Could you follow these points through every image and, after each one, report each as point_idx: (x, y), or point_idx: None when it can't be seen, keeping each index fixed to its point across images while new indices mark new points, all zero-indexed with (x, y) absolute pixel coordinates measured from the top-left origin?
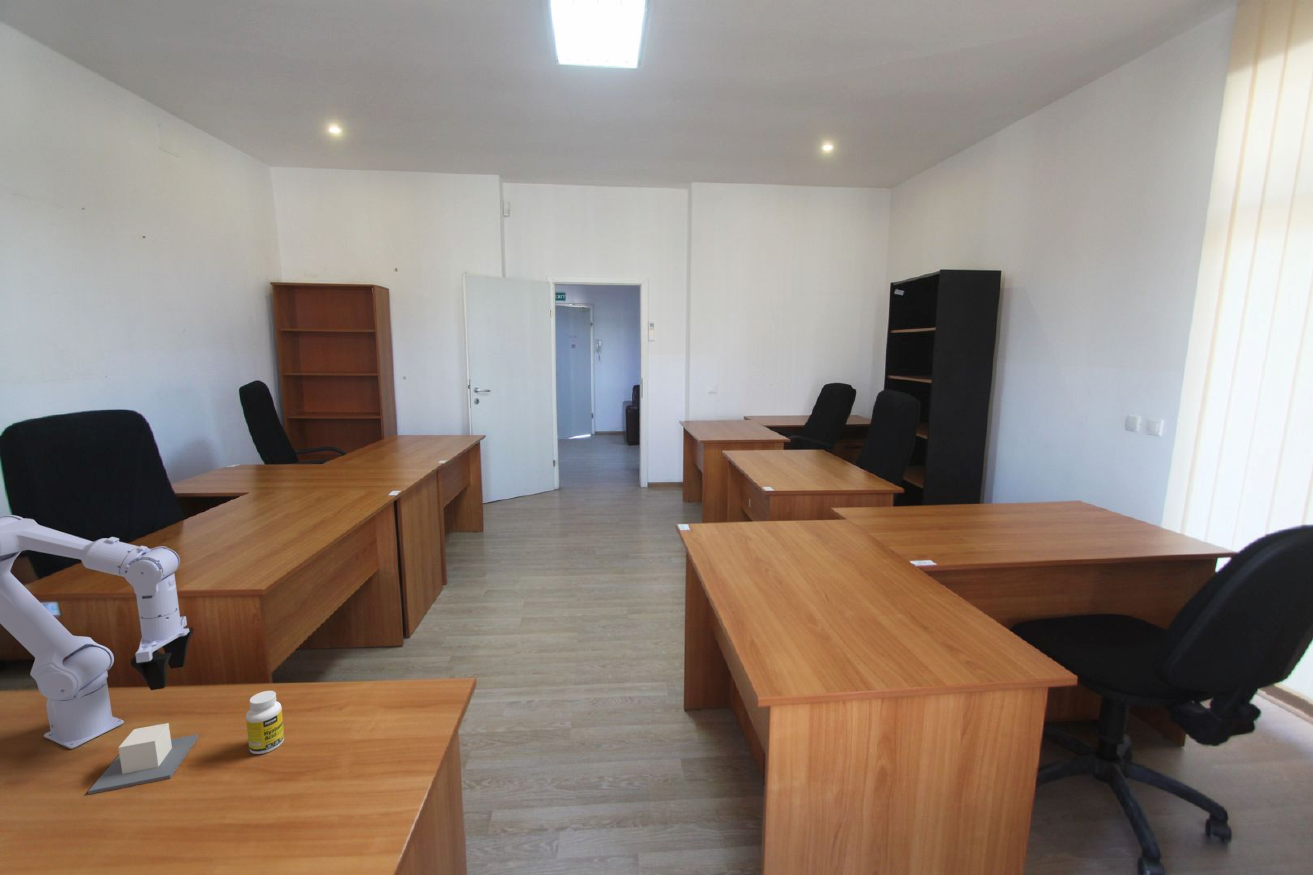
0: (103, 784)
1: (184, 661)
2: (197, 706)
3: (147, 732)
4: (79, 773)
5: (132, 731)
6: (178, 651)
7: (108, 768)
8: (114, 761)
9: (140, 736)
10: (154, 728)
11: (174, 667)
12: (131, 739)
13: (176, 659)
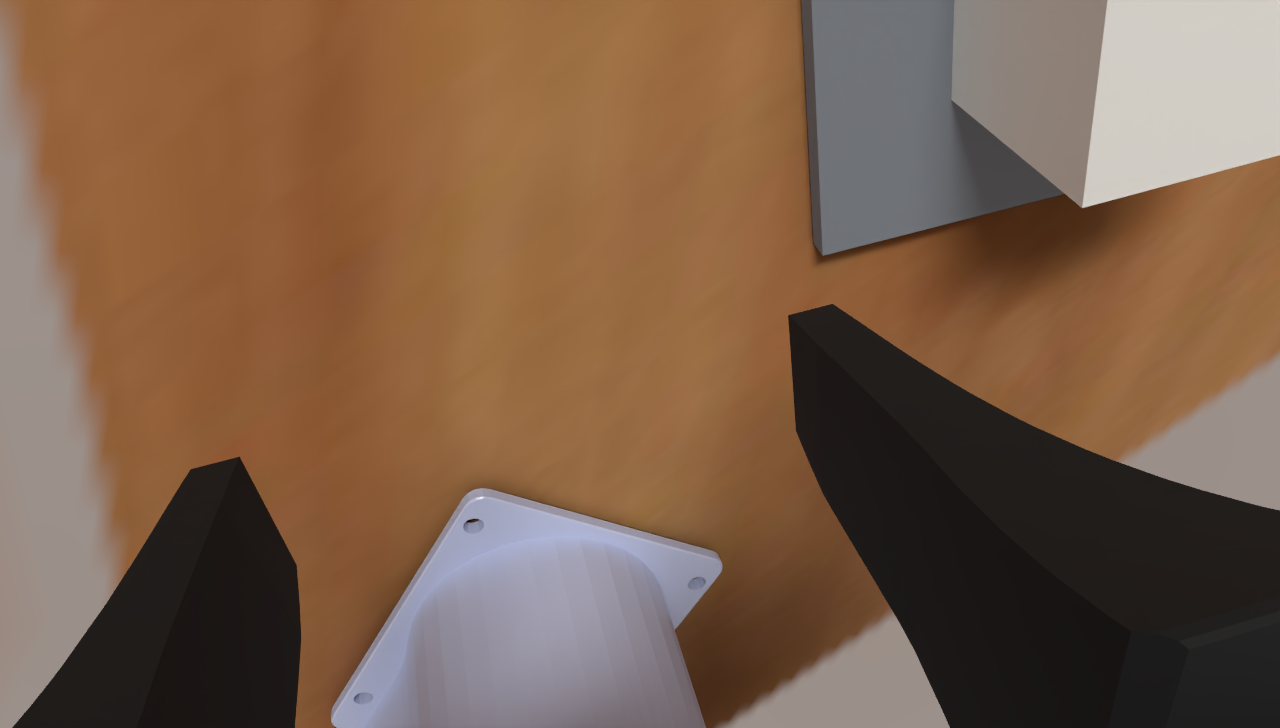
0: None
1: (206, 501)
2: (217, 83)
3: (1209, 32)
4: (983, 342)
5: (1122, 193)
6: (214, 714)
7: (1051, 191)
8: (984, 207)
9: (1248, 57)
10: (1159, 8)
11: (281, 540)
12: (1262, 109)
13: (252, 615)
